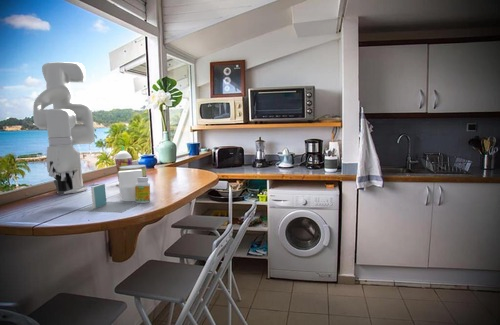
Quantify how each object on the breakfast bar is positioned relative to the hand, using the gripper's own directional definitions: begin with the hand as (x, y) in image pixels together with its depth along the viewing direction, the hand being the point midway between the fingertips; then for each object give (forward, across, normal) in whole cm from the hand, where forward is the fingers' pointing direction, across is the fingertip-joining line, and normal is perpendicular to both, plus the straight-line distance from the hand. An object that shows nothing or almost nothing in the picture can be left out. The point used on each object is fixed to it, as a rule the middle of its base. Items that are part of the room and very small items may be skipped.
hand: (65, 189), depth 122 cm
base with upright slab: (+7, -13, +20) cm, 25 cm away
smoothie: (+7, -45, -6) cm, 46 cm away
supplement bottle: (+6, -8, +28) cm, 30 cm away
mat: (+7, 0, +20) cm, 21 cm away
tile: (+6, 0, +15) cm, 16 cm away
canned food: (+7, -25, +13) cm, 29 cm away
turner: (0, 0, +4) cm, 4 cm away
